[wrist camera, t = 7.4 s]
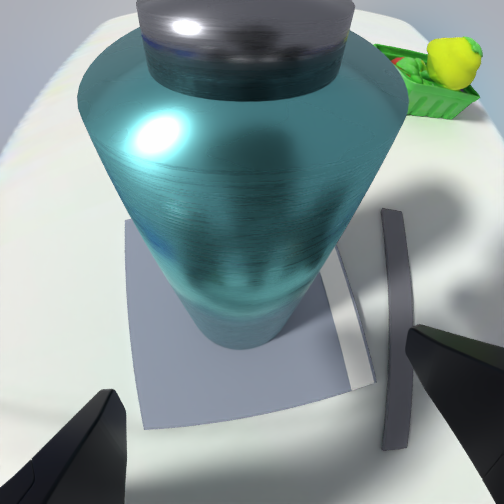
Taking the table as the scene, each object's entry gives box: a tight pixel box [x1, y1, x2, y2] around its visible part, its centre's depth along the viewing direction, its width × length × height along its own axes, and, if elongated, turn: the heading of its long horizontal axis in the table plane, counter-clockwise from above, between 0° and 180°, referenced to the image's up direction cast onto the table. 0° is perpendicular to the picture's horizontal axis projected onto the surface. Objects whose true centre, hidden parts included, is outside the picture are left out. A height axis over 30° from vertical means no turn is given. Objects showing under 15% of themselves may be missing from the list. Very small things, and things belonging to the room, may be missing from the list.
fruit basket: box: [374, 37, 483, 119], centre depth 22 cm, size 11×9×11 cm
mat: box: [125, 219, 377, 430], centre depth 17 cm, size 13×13×1 cm
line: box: [381, 208, 413, 451], centre depth 17 cm, size 16×2×1 cm, turn 174°
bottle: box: [77, 0, 409, 350], centre depth 10 cm, size 6×6×15 cm
